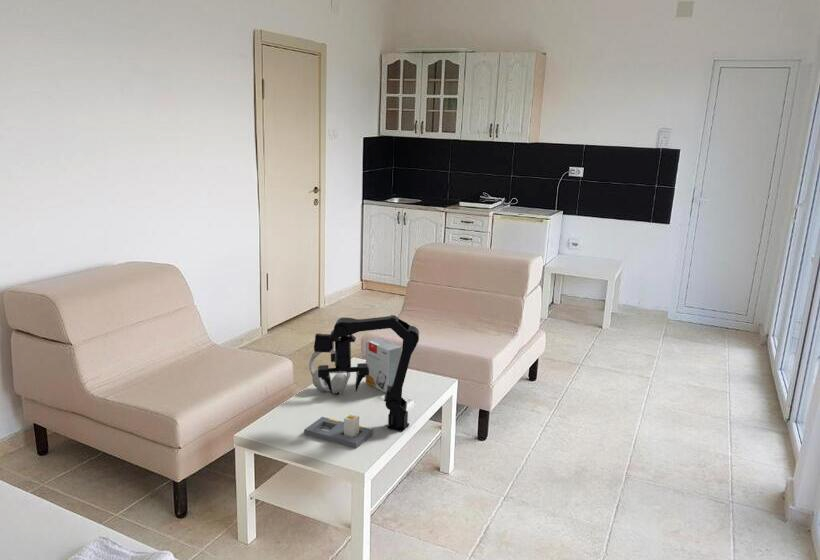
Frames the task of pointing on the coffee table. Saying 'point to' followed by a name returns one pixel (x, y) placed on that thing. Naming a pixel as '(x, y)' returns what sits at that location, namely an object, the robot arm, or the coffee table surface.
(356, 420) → the plug
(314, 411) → the coffee table surface
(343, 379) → the headphones
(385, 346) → the hard drive box
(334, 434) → the panel
